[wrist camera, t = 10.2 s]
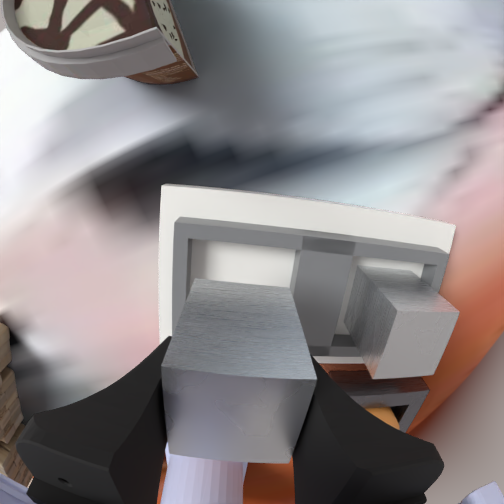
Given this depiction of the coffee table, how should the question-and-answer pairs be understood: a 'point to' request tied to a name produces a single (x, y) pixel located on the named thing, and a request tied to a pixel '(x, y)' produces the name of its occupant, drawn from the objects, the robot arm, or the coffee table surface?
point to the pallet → (290, 253)
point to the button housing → (384, 393)
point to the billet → (237, 374)
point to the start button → (385, 415)
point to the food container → (102, 38)
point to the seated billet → (398, 322)
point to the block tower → (10, 417)
